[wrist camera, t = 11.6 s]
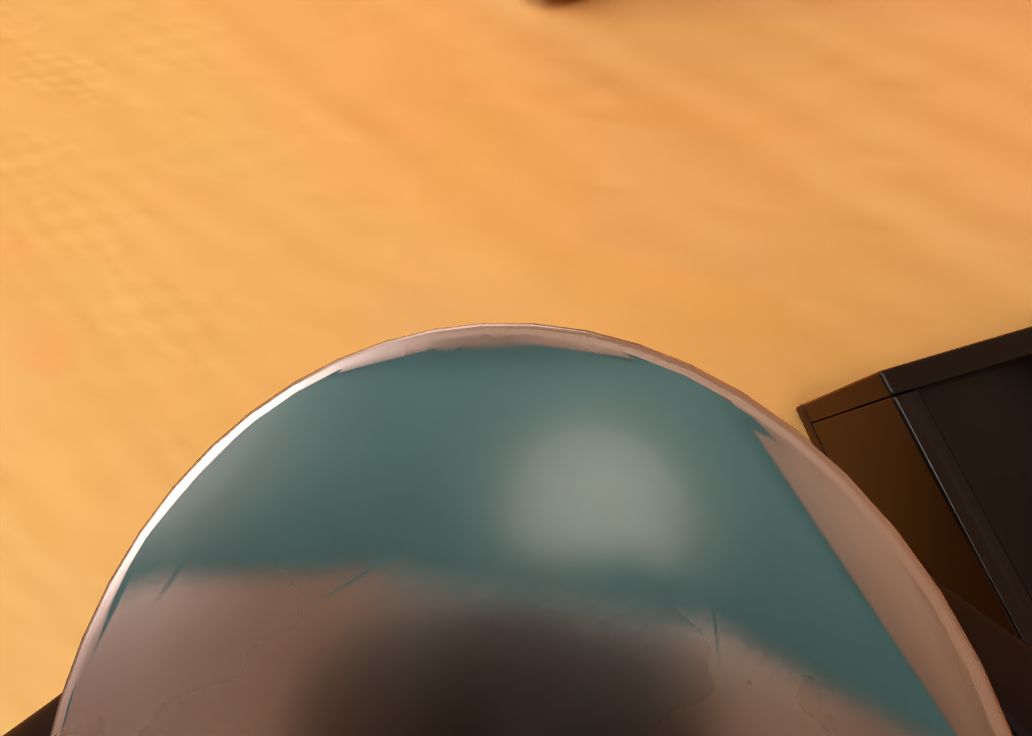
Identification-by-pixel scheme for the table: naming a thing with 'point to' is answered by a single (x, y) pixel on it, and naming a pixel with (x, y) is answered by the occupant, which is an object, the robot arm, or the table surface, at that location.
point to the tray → (947, 464)
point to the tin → (520, 565)
